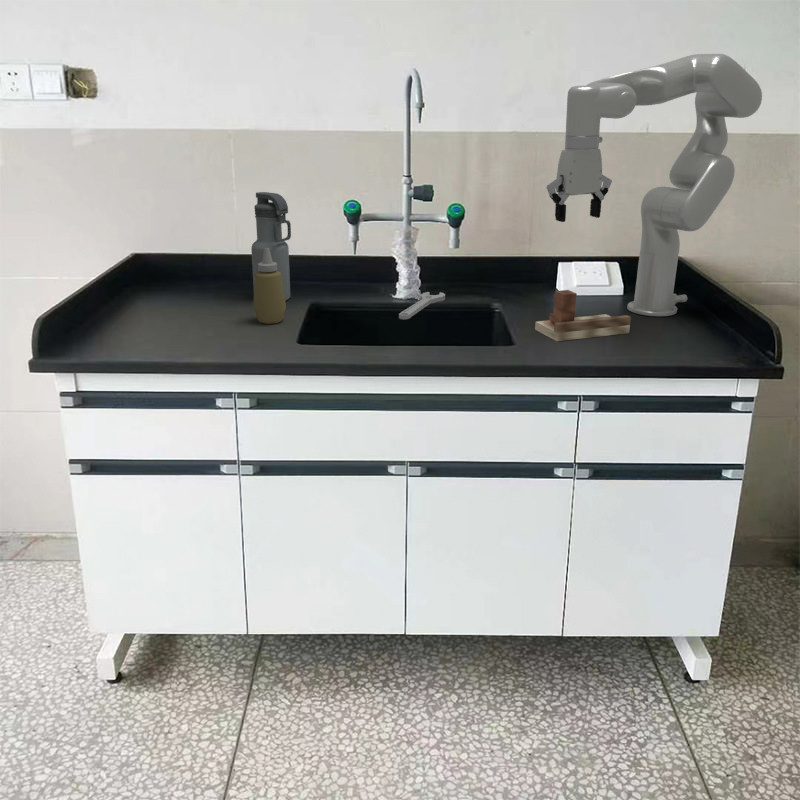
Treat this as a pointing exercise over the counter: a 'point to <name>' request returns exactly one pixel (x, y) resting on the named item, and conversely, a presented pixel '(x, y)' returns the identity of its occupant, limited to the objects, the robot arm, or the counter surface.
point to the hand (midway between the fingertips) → (577, 218)
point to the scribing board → (579, 334)
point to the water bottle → (272, 235)
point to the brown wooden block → (563, 307)
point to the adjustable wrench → (421, 304)
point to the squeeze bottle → (268, 291)
